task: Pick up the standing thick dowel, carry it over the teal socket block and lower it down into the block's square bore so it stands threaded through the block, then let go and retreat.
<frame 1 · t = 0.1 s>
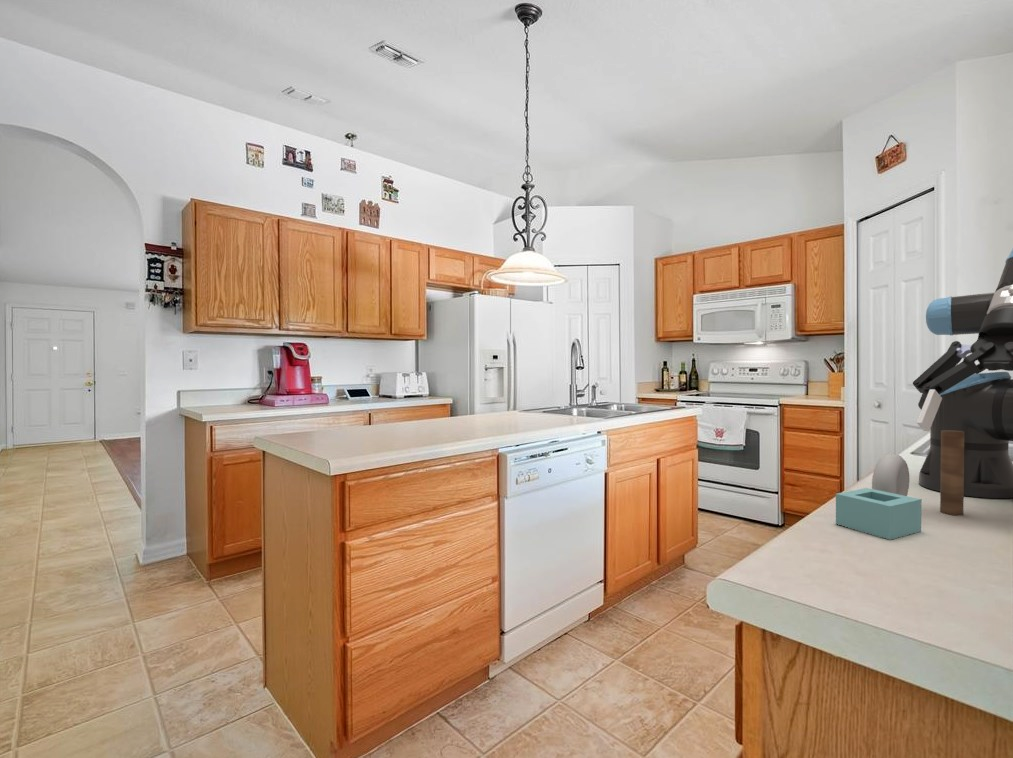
hand: (974, 432, 78), 15 cm above the countertop, tool tilted 35°, fingers open, 13 cm apart
teal socket block: (877, 527, 81), on the countertop
thick dowel: (951, 512, 88), on the countertop
grey rounded flat slab: (890, 511, 90), on the countertop
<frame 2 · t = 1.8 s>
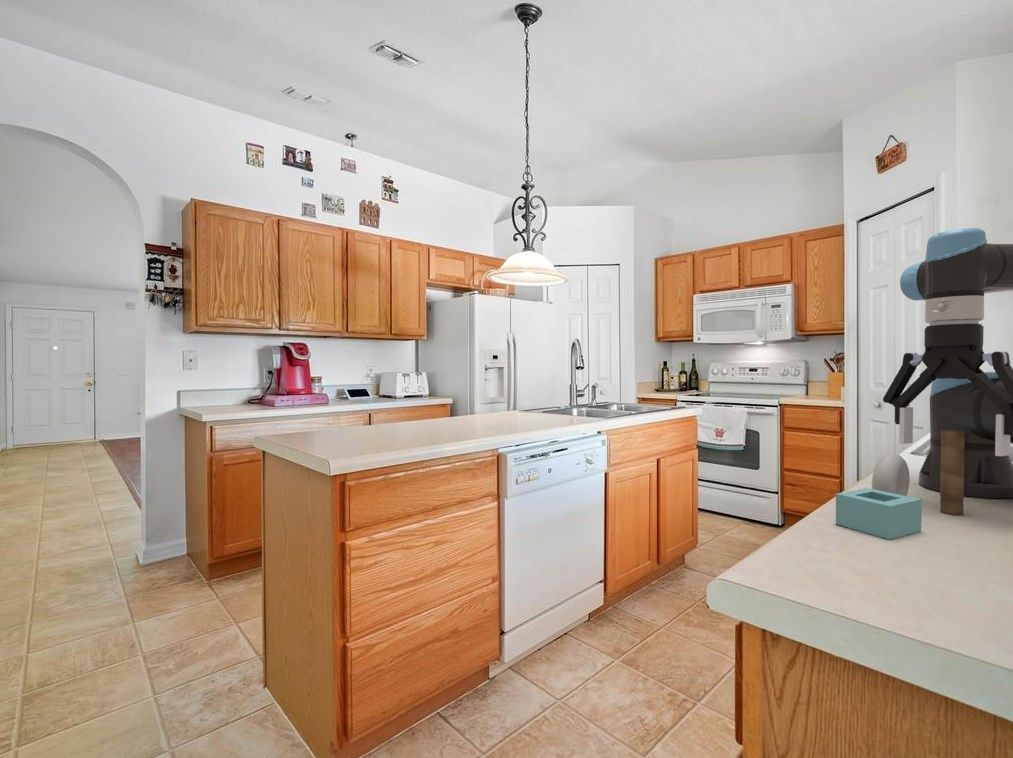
hand: (950, 449, 87), 11 cm above the countertop, tool pointing down, fingers open, 13 cm apart
nothing on the countertop moved.
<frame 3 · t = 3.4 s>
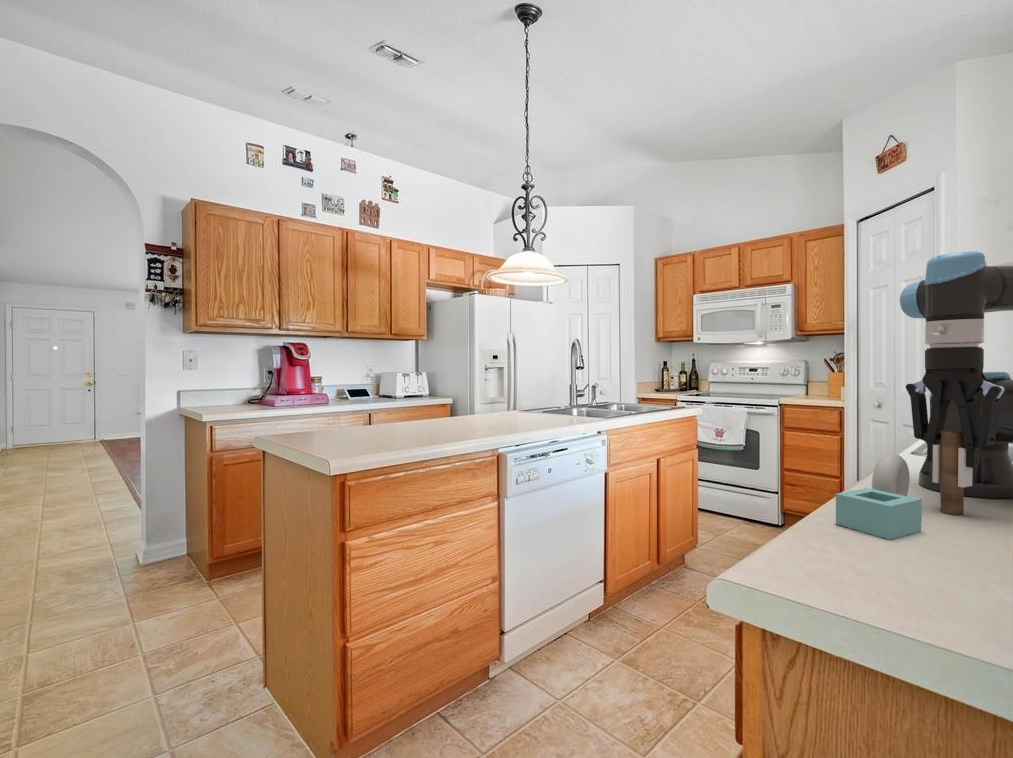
hand: (952, 483, 87), 5 cm above the countertop, tool pointing down, fingers closed on thick dowel, 3 cm apart
thick dowel: (951, 512, 88), on the countertop, touching gripper
everything else where it was.
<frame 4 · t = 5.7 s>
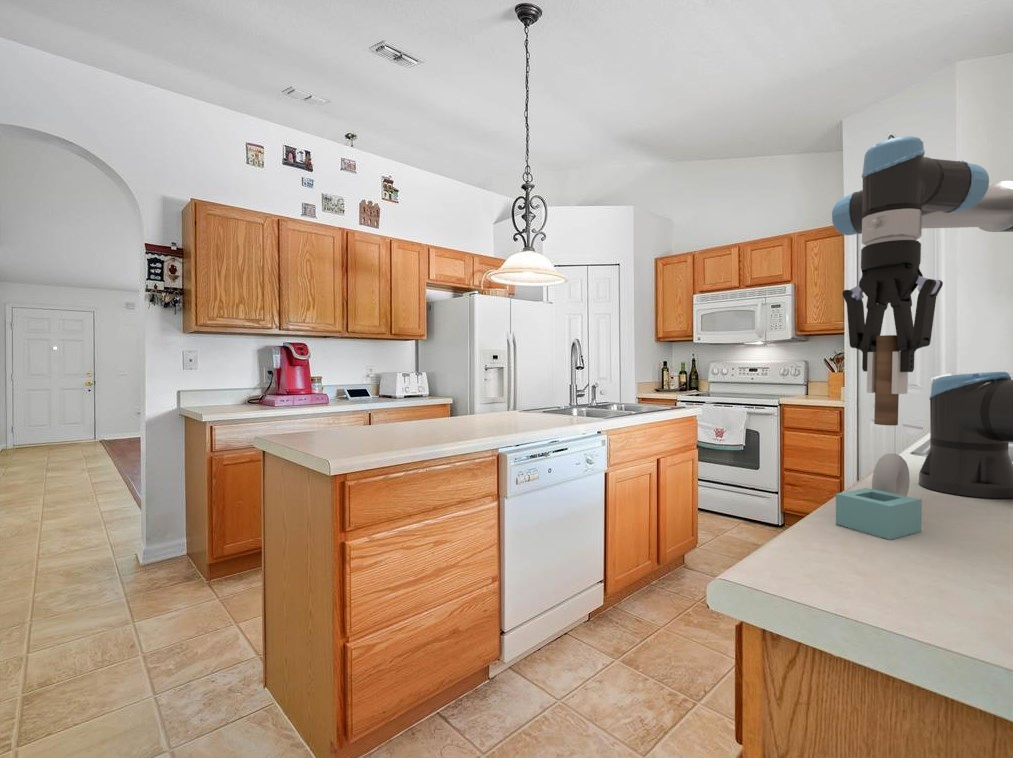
hand: (886, 392, 81), 21 cm above the countertop, tool pointing down, fingers closed on thick dowel, 3 cm apart
thick dowel: (885, 424, 81), point 16 cm above the countertop, touching gripper
everything else where it was.
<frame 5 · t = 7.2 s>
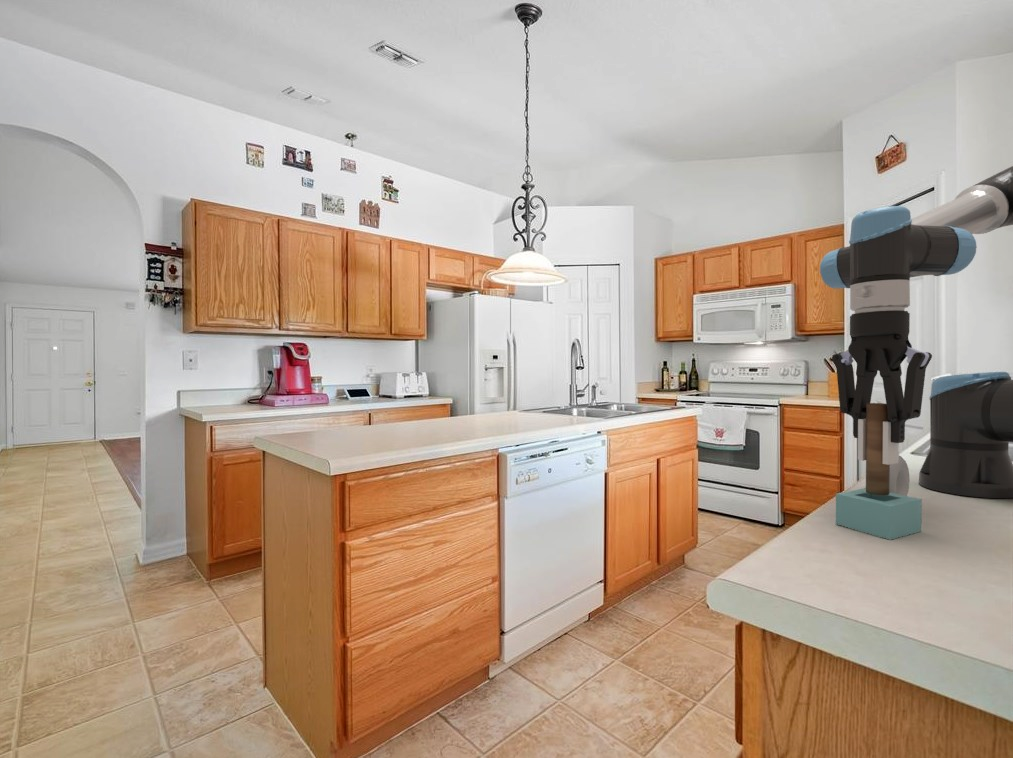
hand: (877, 461, 80), 11 cm above the countertop, tool pointing down, fingers closed on thick dowel, 3 cm apart
thick dowel: (877, 492, 80), point 6 cm above the countertop, touching gripper
everything else where it was.
when the fingers open (7 cm above the countertop, at t = 8.1 s): thick dowel drops 2 cm, resting in teal socket block.
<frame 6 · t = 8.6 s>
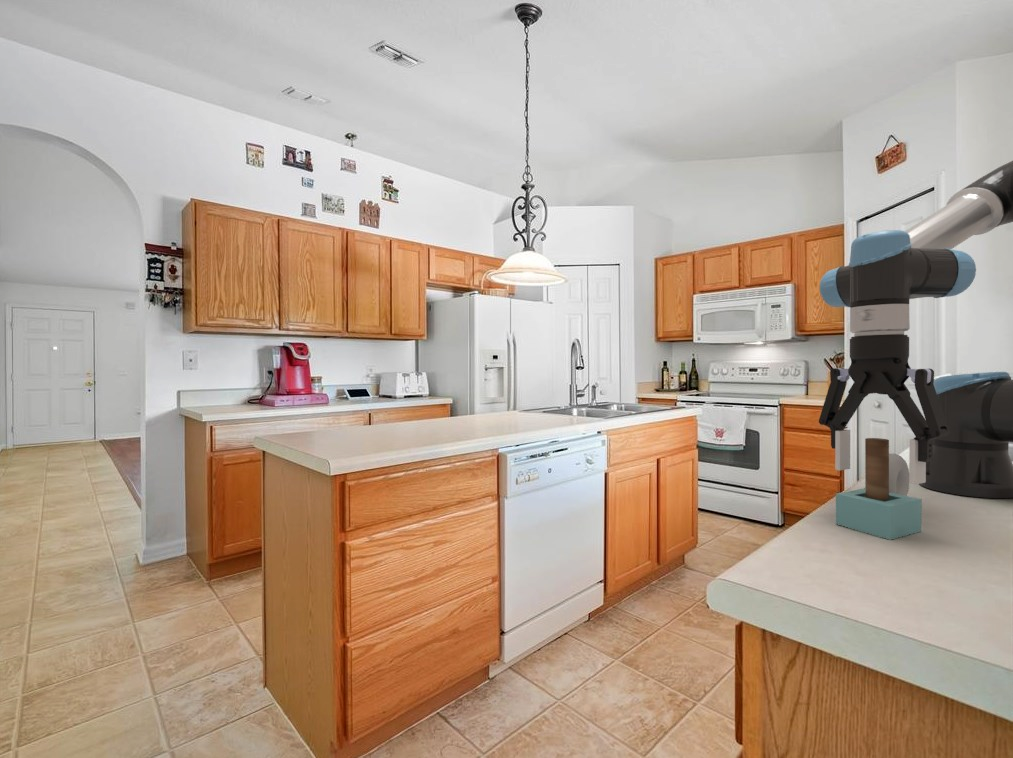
hand: (877, 475, 80), 8 cm above the countertop, tool pointing down, fingers open, 10 cm apart
thick dowel: (877, 527, 81), resting in teal socket block
everything else where it was.
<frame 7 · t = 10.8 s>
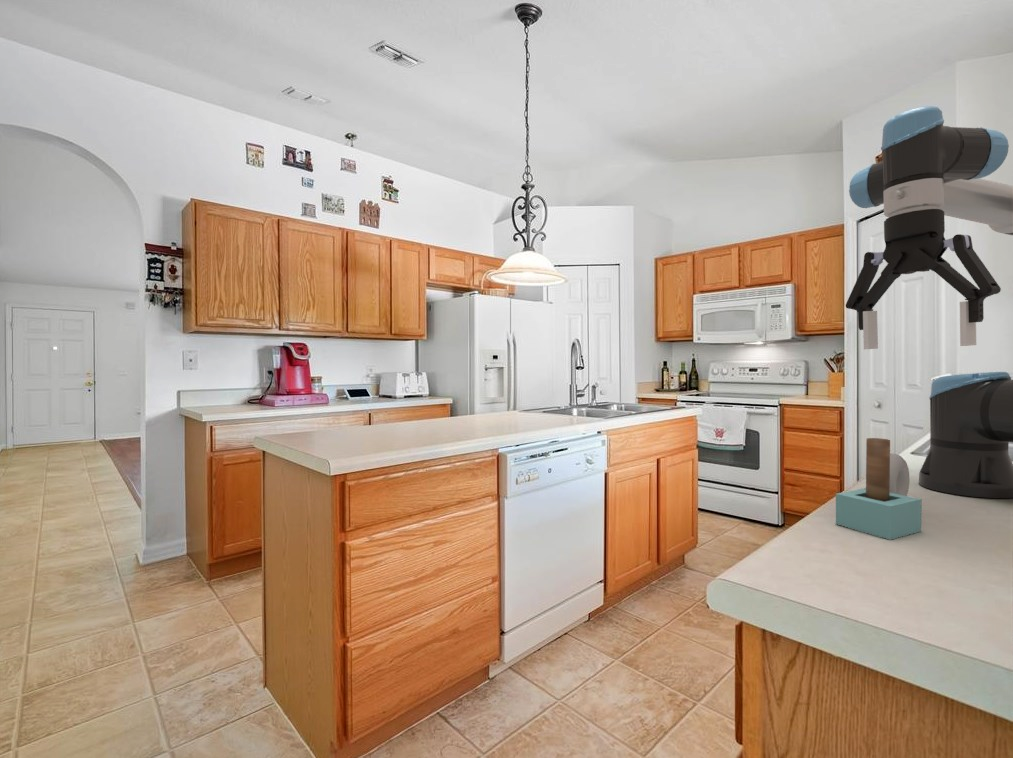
hand: (915, 347, 82), 28 cm above the countertop, tool pointing down, fingers open, 13 cm apart
nothing on the countertop moved.
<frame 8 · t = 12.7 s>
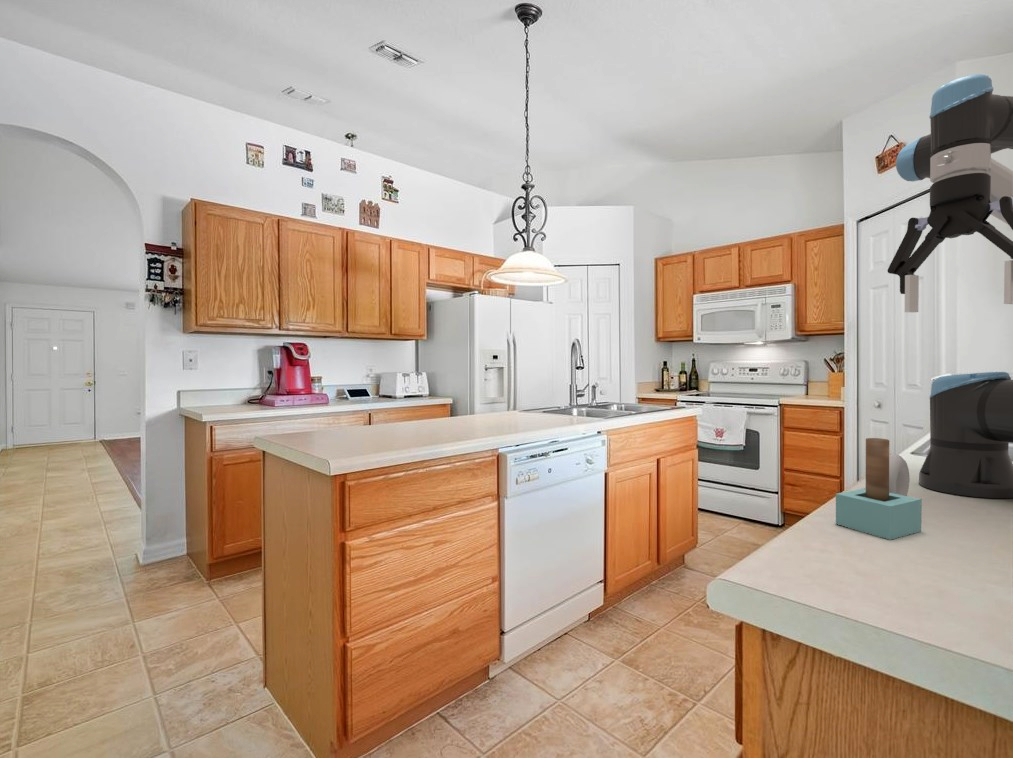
hand: (957, 308, 85), 35 cm above the countertop, tool pointing down, fingers open, 13 cm apart
nothing on the countertop moved.
at the end: thick dowel 0.0 cm off-centre on the teal socket block, point 0.0 cm above the teal socket block's base; thick dowel tilted 1°; the gripper is holding nothing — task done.
